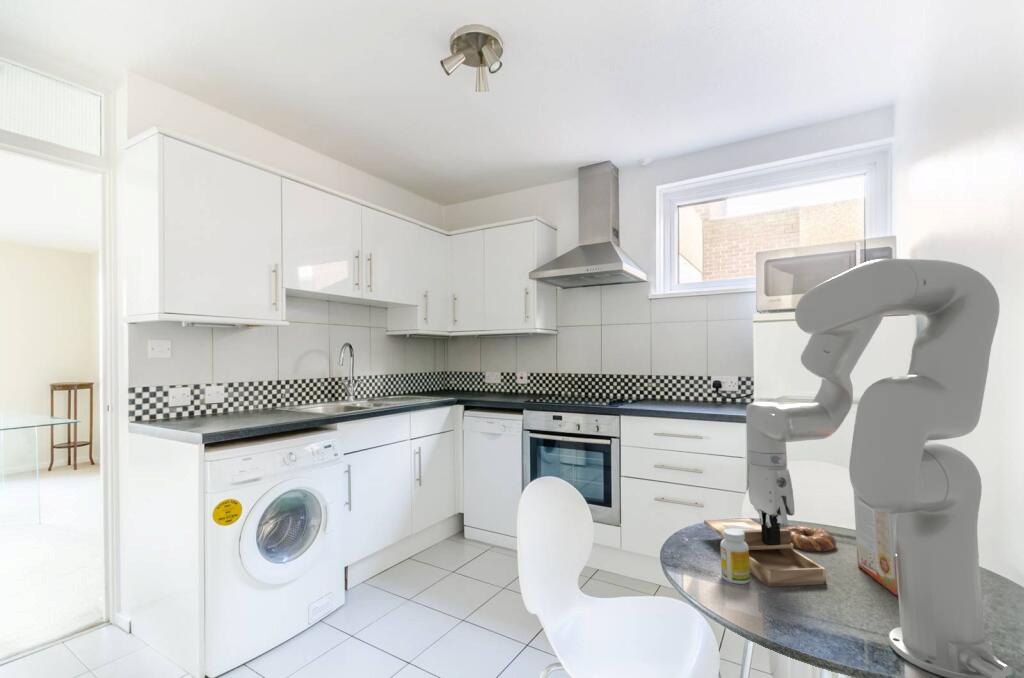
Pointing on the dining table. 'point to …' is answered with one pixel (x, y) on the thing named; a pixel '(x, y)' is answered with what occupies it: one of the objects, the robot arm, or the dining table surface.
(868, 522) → the cracker box
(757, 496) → the robot arm
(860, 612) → the dining table surface
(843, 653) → the dining table surface
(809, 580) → the light wood shallow tray
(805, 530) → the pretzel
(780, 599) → the dining table surface
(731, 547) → the supplement bottle
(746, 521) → the lid
